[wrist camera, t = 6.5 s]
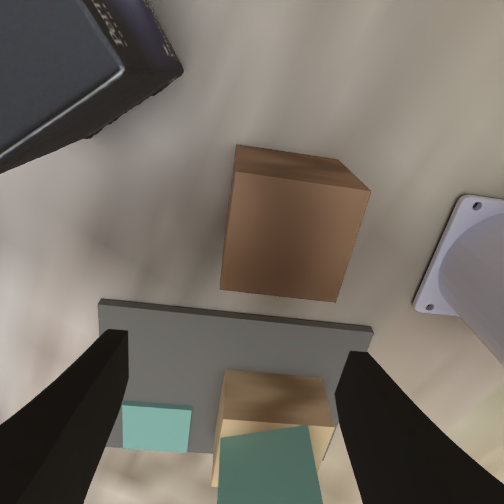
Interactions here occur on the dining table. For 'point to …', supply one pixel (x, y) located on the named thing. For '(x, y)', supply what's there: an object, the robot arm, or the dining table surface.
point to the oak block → (272, 409)
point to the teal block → (268, 468)
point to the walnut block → (290, 224)
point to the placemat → (220, 356)
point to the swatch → (156, 426)
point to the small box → (74, 70)
